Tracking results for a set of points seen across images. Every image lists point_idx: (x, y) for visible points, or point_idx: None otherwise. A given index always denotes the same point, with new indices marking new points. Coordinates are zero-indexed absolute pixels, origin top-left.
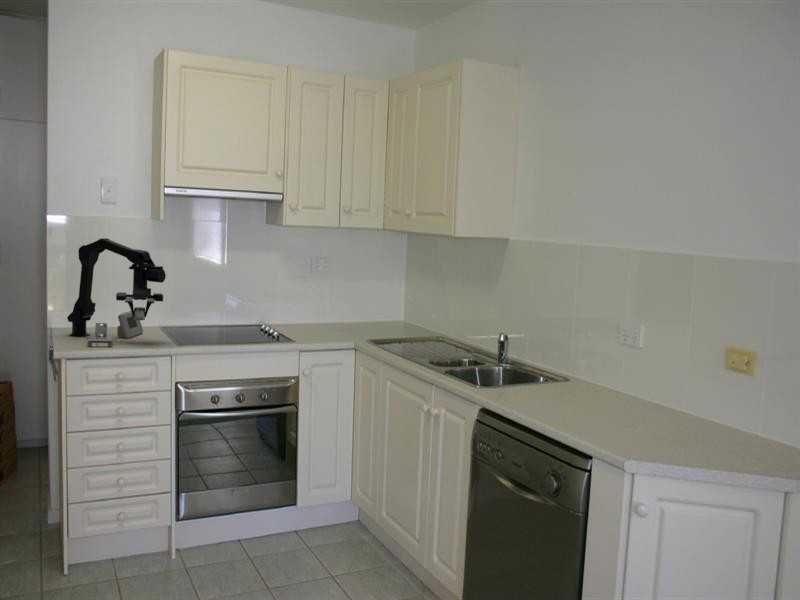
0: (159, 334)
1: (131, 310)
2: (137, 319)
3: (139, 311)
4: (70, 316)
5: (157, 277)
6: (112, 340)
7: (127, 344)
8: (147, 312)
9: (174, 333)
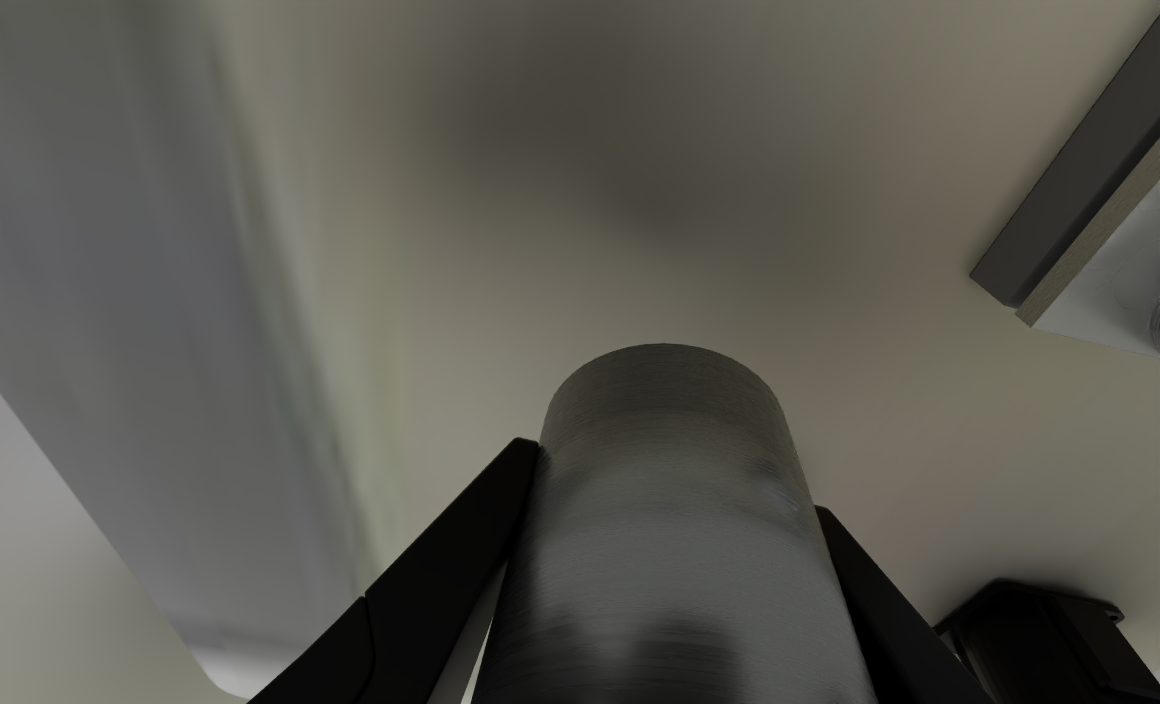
0: (409, 522)
1: (983, 700)
2: (746, 376)
3: (737, 561)
4: None
5: None
6: (1023, 249)
7: (855, 113)
8: (432, 522)
9: (301, 527)
